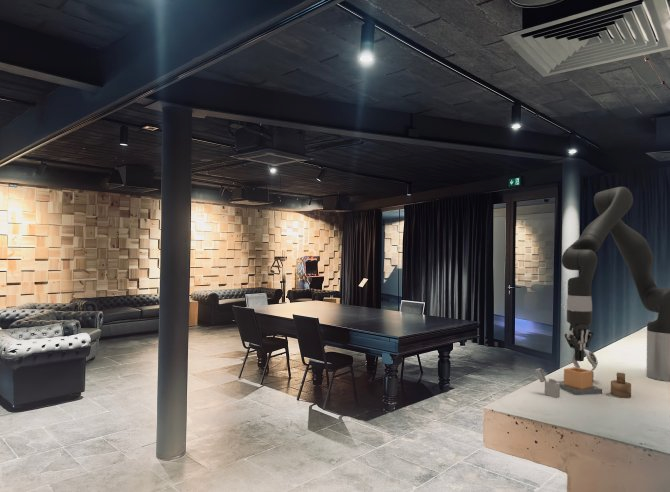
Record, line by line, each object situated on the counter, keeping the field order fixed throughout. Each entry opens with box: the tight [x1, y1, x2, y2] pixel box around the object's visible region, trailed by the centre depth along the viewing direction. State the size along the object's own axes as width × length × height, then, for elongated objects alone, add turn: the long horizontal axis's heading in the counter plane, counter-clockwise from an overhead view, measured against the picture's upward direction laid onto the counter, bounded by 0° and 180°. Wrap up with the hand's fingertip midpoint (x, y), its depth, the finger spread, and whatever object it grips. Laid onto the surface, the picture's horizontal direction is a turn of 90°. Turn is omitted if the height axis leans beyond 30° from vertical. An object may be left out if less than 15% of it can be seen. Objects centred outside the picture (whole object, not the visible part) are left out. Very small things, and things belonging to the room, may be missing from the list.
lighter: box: [535, 367, 561, 399], centre depth 146 cm, size 7×2×8 cm, turn 49°
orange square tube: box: [563, 366, 594, 389], centre depth 153 cm, size 6×6×5 cm
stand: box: [610, 372, 632, 399], centre depth 147 cm, size 6×6×7 cm
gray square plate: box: [556, 380, 603, 396], centre depth 153 cm, size 10×10×5 cm
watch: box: [571, 349, 599, 374], centre depth 164 cm, size 6×8×11 cm
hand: (579, 360), depth 152 cm, fingers closed
